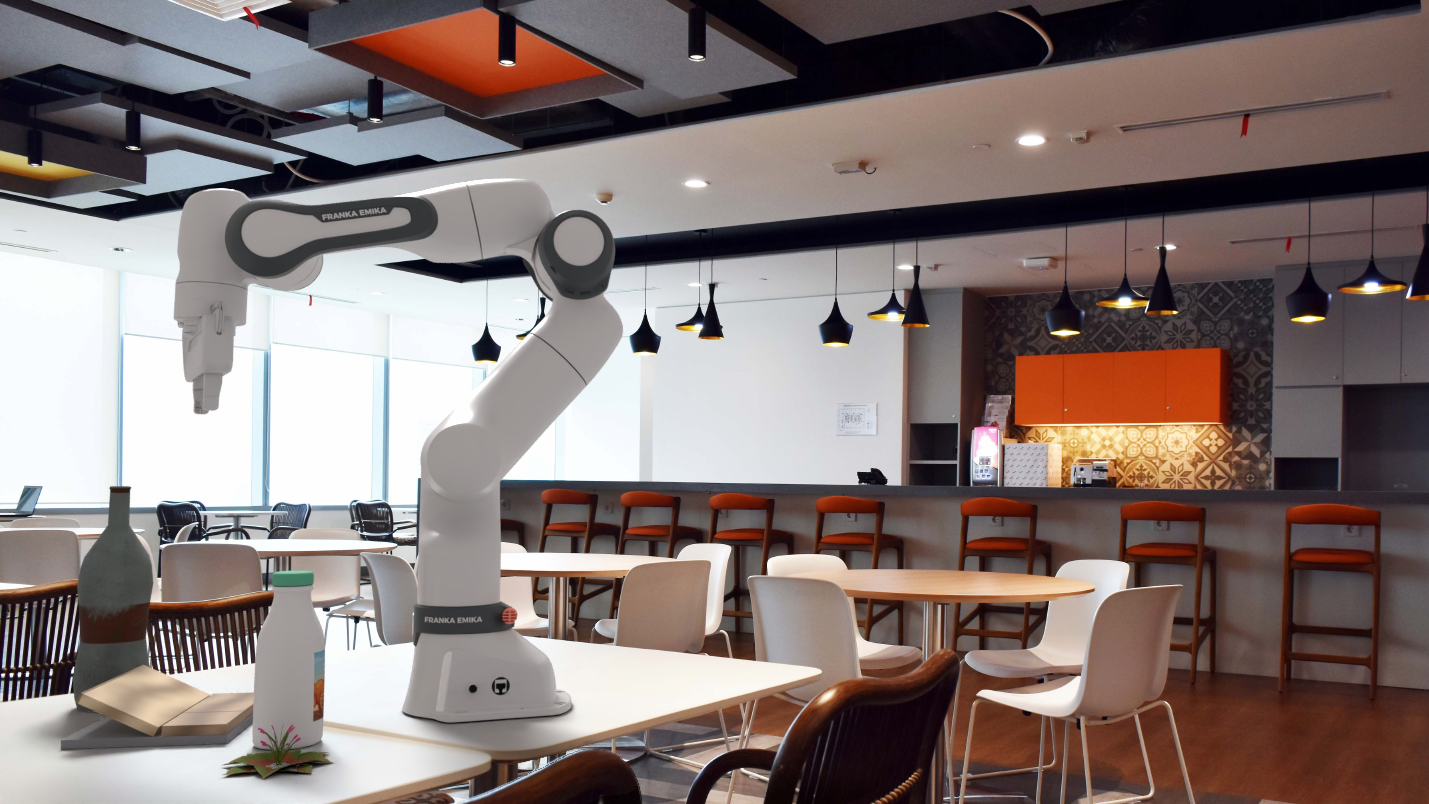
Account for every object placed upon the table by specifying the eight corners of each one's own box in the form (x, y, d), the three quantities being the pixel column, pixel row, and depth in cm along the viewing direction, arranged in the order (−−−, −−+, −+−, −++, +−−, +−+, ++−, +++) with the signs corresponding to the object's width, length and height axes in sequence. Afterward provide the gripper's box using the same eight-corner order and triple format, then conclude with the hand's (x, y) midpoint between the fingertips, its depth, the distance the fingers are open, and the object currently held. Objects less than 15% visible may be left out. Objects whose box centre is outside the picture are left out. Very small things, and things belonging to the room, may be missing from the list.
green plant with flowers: (346, 754, 122) (348, 713, 122) (322, 782, 110) (324, 737, 110) (236, 757, 120) (238, 715, 121) (200, 786, 108) (202, 740, 109)
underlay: (270, 708, 144) (270, 700, 145) (227, 743, 125) (227, 734, 125) (127, 712, 142) (128, 704, 142) (60, 749, 122) (60, 740, 122)
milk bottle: (298, 753, 120) (304, 574, 122) (237, 749, 122) (243, 573, 123) (335, 737, 128) (340, 569, 129) (277, 734, 129) (283, 568, 131)
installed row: (268, 701, 144) (268, 691, 144) (226, 734, 125) (226, 723, 125) (213, 702, 143) (213, 693, 143) (161, 736, 124) (161, 725, 124)
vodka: (54, 710, 143) (65, 486, 145) (112, 697, 152) (121, 486, 154) (108, 714, 140) (118, 486, 142) (164, 701, 149) (173, 486, 151)
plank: (205, 702, 143) (210, 694, 143) (153, 736, 124) (158, 727, 124) (139, 672, 142) (143, 664, 142) (75, 702, 123) (80, 692, 123)
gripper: (248, 301, 136) (243, 409, 135) (225, 321, 153) (220, 417, 152) (194, 295, 133) (188, 406, 131) (176, 317, 150) (171, 415, 149)
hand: (205, 412), depth 142 cm, fingers open, 8 cm apart
